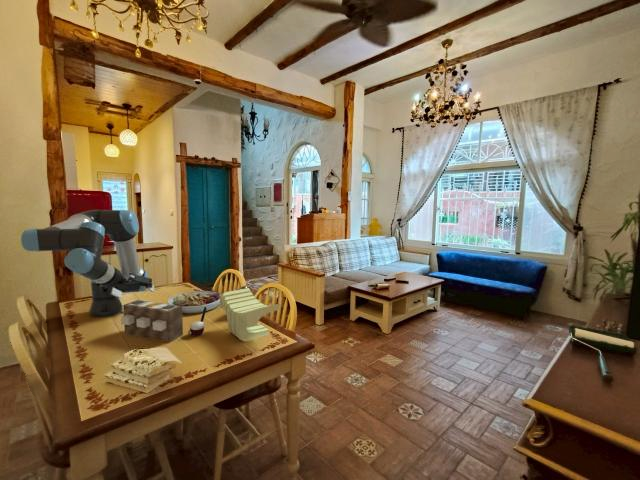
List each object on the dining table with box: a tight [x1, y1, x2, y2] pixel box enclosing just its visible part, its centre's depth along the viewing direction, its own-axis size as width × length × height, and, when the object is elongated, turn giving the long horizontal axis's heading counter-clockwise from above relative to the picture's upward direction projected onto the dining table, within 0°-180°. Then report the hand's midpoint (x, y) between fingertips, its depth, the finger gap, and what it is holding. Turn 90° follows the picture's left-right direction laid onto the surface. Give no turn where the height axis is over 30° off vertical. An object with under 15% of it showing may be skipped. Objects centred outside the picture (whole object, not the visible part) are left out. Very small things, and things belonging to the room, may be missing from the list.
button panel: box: [122, 299, 184, 343], centre depth 139 cm, size 26×8×15 cm, turn 74°
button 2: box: [153, 320, 167, 331], centre depth 132 cm, size 4×3×3 cm
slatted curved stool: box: [219, 287, 281, 342], centre depth 143 cm, size 30×16×18 cm, turn 41°
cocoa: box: [187, 307, 207, 337], centre depth 141 cm, size 10×6×12 cm, turn 125°
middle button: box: [136, 317, 150, 328], centre depth 134 cm, size 4×3×3 cm
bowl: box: [166, 290, 222, 315], centre depth 179 cm, size 30×30×8 cm
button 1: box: [120, 314, 135, 325], centre depth 137 cm, size 4×3×3 cm
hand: (137, 292), depth 129 cm, fingers open, 13 cm apart
